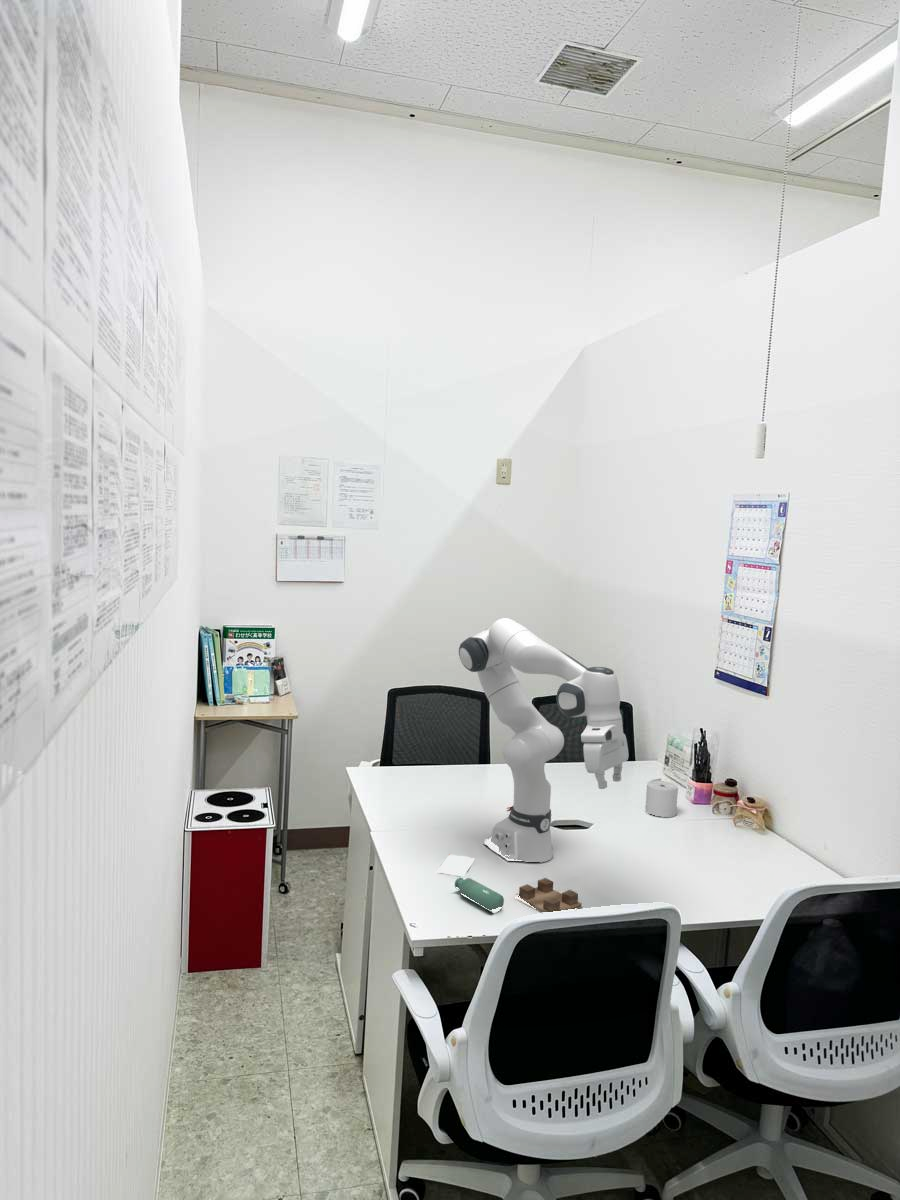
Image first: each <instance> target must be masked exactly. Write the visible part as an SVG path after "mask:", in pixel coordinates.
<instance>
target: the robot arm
mask: <svg viewBox="0 0 900 1200" xmlns="http://www.w3.org/2000/svg"><path fill="white" fill-rule="evenodd" d="M458 655H459V660H460V662H461V664H462V665H463V667H465V669H466V670H468V671H470V672H471V673H476V674H477V676H478V679H479V682H480V685H481V688H482V690H483V693H484V695H485V696H486V698H487V700H488V702H489V704H490V706H491V707H492V710H493V712H494V713H495V715H496V717H497V719H498V720H499V722H500V723H502V724H503V725H506V726H507V727H509V728H510V729H511V730H512V731H513V733H514V734H515V735H512V737H511V738H509V740H507V742H505V744H504V745H503V748H502V749H503V750H502V757H503V760H504V762H505V763H506V765H507V766H508V767H509V768H510V770H511V774H512V779H513V787H514V788H513V805H512V806H510V807H507V808H506V809H507V810H506V812H509V814H508V816H507V817H506V818H505V819H502V820H501V821H499V822H497V823H496V824H495V825H494V826H493V828H492V831H491V836H492V838H491V842H493V843H494V844H495V845H497V846H498V847H499V852H500V851H501V854H502V855H503V856H505V855H508V856H509V855H510V856H509V857H508V856H505V857H506V858H508V859H514V860H516V859H517V860H522V861H527V862H540V863H545V862H548V861H550V860H551V859H553V856H554V853H553V852H554V851H553V844H552V838H551V837H552V836H551V822H552V810H551V793H552V792H551V791H552V786H551V783H550V782H549V781H548V780H547V777H546V773H545V772H546V771H545V764H546V762H549V761H550V760H553V759H554V758H556V757H557V756H558V755H559V754H560V752H561V751H562V750H563V749H564V745H565V738H564V737H565V736H564V734H563V733H562V731H561V730H560V728H558V726H556V725H554V724H551V723H550V722H549V721H548V720H547V719H546V718H545V717H544V716H543V715H542V714H541V713H540V712H539V711H538V709H537V708H536V707H535V705H534V704H533V703H532V702H531V700H530V698H529V696H528V694H527V693H526V691H525V689H524V687H523V686H522V685H521V682H520V681H519V679H518V677H517V675H516V674H515V672H514V671H513V669H516V670H517V671H519V672H522V673H524V674H530V675H531V674H532V675H550V676H551V675H552V676H556V677H559V678H562V679H563V680H565V681H566V682H565V683H561V684H560V686H559V688H558V690H557V693H556V704H557V708H558V709H559V710H560V712H561V713H562V714H563V715H564V716H566V717H567V718H579V717H586V723H587V725H586V727H585V729H583V732H582V733H581V734H580V740H581V743H583V748H582V749H583V758H584V759H583V760H584V766H585V769H586V771H587V773H588V774H594V776H595V779H596V781H597V785H598V789H600V790H605V789H607V788H608V782H607V780H606V778H605V775H606V771H608V770H609V769H612V768H613V774H612V781H613V782H615V783H617V782H620V781H622V771H623V763H625V762H627V761H628V760H629V756H630V755H629V747H628V741H627V737H626V734H625V733H624V727H623V716H622V714H621V711H620V706H621V705H620V704H621V695H620V693H621V692H620V687H619V680H618V677H617V674H616V672H615V671H614V670H613V669H612V668H609V667H605V666H591V667H588V666H585V665H584V664H583V663H581V662H579V661H578V660H576V659H575V658H573V657H572V656H570V655H568V654H567V653H565V652H564V651H562V650H561V649H558V648H556V647H554V646H553V645H550V644H549V643H547V642H546V641H544V640H543V639H541V638H540V637H539V636H537V635H536V634H534V633H533V632H532V631H531V630H529V629H528V628H527V627H525V626H524V625H522V624H521V623H519V622H518V621H516V620H514V619H512V618H508V617H503V618H499V619H497V620H495V621H494V622H493V623H492V624H491V626H490V627H488V628H485V629H484V630H483V631H480V632H479V633H476V634H475V635H473V636H470V637H468V638H466V639H465V640H463V641H462V642H461V643H460V645H459V647H458ZM512 668H513V669H512Z"/></svg>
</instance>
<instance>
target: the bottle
mask: <svg viewBox="0 0 900 1200" xmlns="http://www.w3.org/2000/svg"><path fill="white" fill-rule="evenodd" d="M454 887H455V888H456V887H458V888H459V889H458V890H459V894H460V893H462V894H464V895H466V896H467V897H469V898H470V899H472V900H474V901H475V902H477V903H479V904H480V905H482V906H484V907H485V908H487V909H489V910H492V909H496V908H498V907H502V906H503V907H504V903H505V900H504V896H503V895H502V894H500V893H498V892H496V891H494V890H492V889H491V888H489V887H487V886H485V885H484V884H482V883H480V882H478V881H476V880H474V879H472V878H470V877H468V878H465V879H464V877H457V878H456V880H455V882H454ZM503 907H502V908H503Z"/></svg>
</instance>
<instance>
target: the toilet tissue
mask: <svg viewBox="0 0 900 1200" xmlns="http://www.w3.org/2000/svg"><path fill="white" fill-rule="evenodd" d="M678 786H679V785H677V784H675V783H673V782H670V781H665V780H662V778H657V779H652V780H650V781H648V782H647V783H646V793H645V794H646V795H645V812H646V813H647V812H648V813H649V814H648V813H647V814H648V815H650V814H652V815H651V816H653V815H655V816H654V817H656V816H661V817H660V818H664V817H668V818H674V817H676V816H675V815H677V810H678V809H677V808H678V807H677V806H678V792H679V787H678ZM673 816H674V817H673Z"/></svg>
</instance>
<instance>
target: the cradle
mask: <svg viewBox="0 0 900 1200" xmlns="http://www.w3.org/2000/svg"><path fill="white" fill-rule="evenodd" d="M518 891H519V892H518V894H519V896H520V898H521V899H523V900H524V901H526V902H527V903H529V904H530V905H531V906H533V907H534V908H536V910H535V911H537V910H538V913H539V912H540V913H541V912H553V911H561V910H568V909H575V908H579V909H581V908H582V907H583V904H582V903H581V902H579V893H577V891H576V892H575V891H573V890H572V889H567V890H565V891H562V892H559V891H557V890H556V889H554V881H553V880H551V879H549V878H546V877H544V878H541V879H538V880H537V886H536V887H534V886H532V885H529V884H524V885H521V886H519V888H518ZM519 896H518V897H519Z"/></svg>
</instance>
